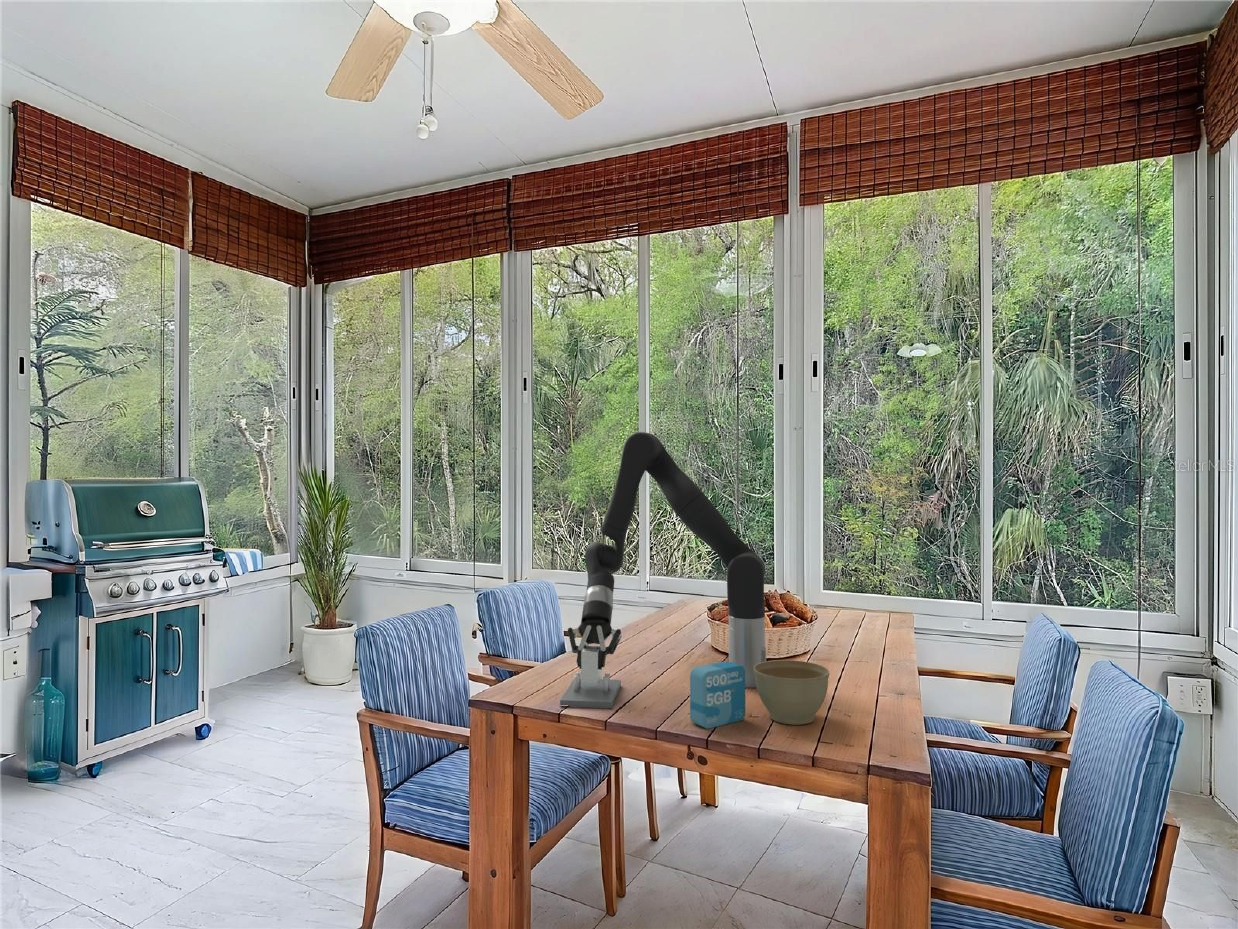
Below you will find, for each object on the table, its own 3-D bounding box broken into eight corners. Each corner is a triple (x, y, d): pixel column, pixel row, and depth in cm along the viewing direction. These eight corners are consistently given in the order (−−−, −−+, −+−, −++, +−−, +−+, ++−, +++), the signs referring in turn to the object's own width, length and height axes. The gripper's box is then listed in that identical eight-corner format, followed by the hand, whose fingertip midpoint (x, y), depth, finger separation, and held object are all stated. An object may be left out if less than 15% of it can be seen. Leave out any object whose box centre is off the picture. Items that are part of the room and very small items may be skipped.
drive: (601, 678, 173) (601, 646, 174) (598, 686, 167) (598, 652, 168) (585, 678, 174) (585, 645, 174) (581, 685, 168) (581, 651, 168)
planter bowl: (827, 709, 160) (826, 661, 160) (832, 734, 144) (831, 681, 145) (755, 704, 164) (755, 657, 164) (752, 728, 148) (752, 676, 148)
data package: (703, 730, 147) (702, 672, 147) (689, 724, 151) (689, 667, 151) (746, 719, 153) (745, 664, 154) (732, 714, 157) (731, 660, 157)
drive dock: (620, 685, 179) (620, 666, 179) (611, 708, 161) (611, 686, 161) (574, 684, 180) (574, 664, 180) (560, 706, 162) (560, 684, 162)
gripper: (568, 598, 179) (558, 658, 167) (624, 599, 178) (618, 660, 165) (572, 615, 184) (563, 674, 172) (626, 616, 183) (621, 676, 170)
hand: (590, 667), depth 169 cm, fingers closed on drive, 4 cm apart
